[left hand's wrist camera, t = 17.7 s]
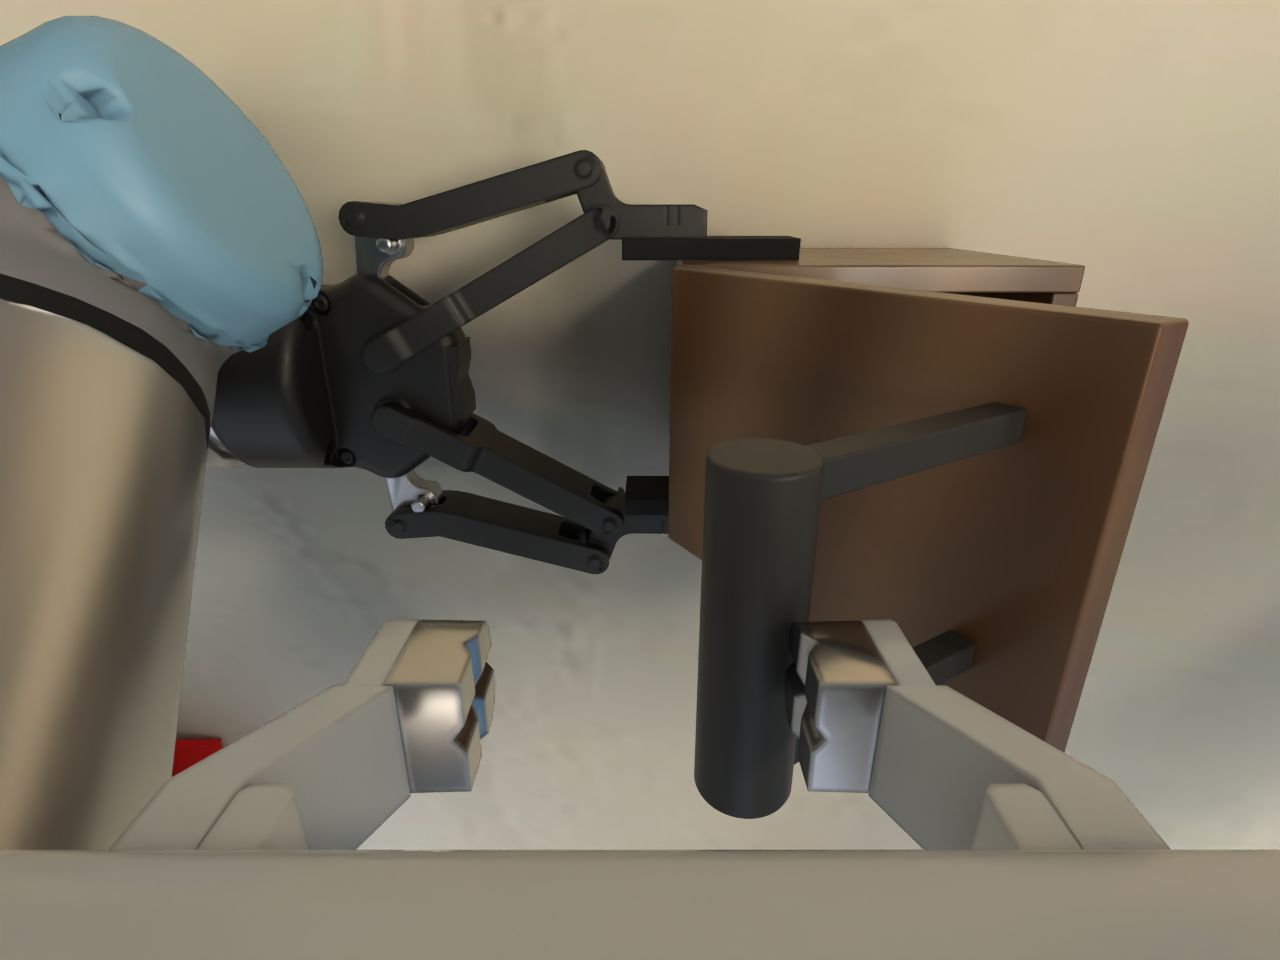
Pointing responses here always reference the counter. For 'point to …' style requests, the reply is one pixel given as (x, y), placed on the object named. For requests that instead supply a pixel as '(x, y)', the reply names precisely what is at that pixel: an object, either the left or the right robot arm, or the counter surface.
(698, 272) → the lid
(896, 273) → the chest
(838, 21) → the counter surface
